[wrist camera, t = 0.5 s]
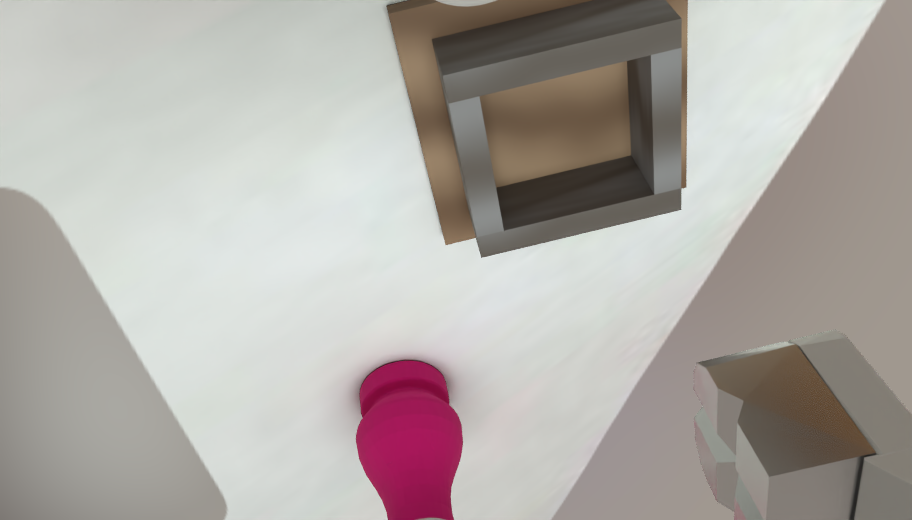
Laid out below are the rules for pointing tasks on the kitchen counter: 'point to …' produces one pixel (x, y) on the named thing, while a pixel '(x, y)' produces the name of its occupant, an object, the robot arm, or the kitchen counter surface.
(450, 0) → the beverage can
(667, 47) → the collar plate
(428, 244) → the kitchen counter surface
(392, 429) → the pepper mill
